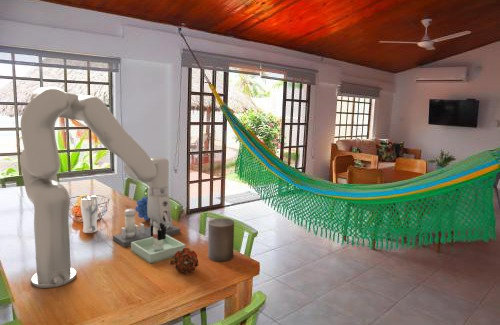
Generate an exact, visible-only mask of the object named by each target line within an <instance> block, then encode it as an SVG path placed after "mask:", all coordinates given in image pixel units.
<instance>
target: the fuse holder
mask: <svg viewBox="0 0 500 325" xmlns="http://www.w3.org/2000/svg"><path fill="white" fill-rule="evenodd" d="M169 223H170V224H169V229H166V235H168V236H170V237H172V236H175V235H178V233H179V234H181V228H180V227H178V226H176V225H173V218H172V217H171V220H170V221H169ZM174 234H175V235H174ZM150 237H153V236H151V226H148V227H145V224H144V223H141V222H140V223H139V225H137V224H135V237H133V238H126V229H125V226H123V227H121V233H117V234H113V235H112V241H114V242H115V243H116V244H118V245H120V246H121V247H122V248H127V247H131V242H134V241H138V240H142V239H146V238H150Z"/></svg>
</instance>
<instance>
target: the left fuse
mask: <svg viewBox="0 0 500 325" xmlns="http://www.w3.org/2000/svg"><path fill="white" fill-rule="evenodd" d="M135 225H136V210H135V209H134V208H126V209H125V210H124V228H125V229H126V238H133V237H135Z"/></svg>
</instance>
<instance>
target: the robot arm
mask: <svg viewBox="0 0 500 325" xmlns="http://www.w3.org/2000/svg"><path fill="white" fill-rule="evenodd" d="M59 118H63V119H69V120H74V121H82V122H84V124H85V125H86V126H87V127H88V128H89V129H90V131H91V132H92V133H93V134H94V136H95V137H96V138H97V140H98V141H99V142H100V143H101V145H102V146H103V147H105V149H107V150H108V151H109V152H110V153H112V154H114V155H115V156H117V157H118V158H119V159H120V160H121V161H122V162H124V165H123V171H124V173H125V174H126V176H127V177H129V178H130V179H133V180H135V181H137V182H140V183H144V184H145V183H146V184H147V198H148V202H147V215H148V217H149V220H148V221H149V227H151V236H153V220H155V221H157V222H158V228H159V230H158V240H162V239H165V238H166V229H167V226H168V225H169V224H170V223H169V221H170V220H171V218H172V209H171V200H170V199H171V198H170V196H169V190H170V188H169V185H170V183H169V181H170V180H169V176H170V175H169V174H170V173H169V172H170V171H169V170H170V169H169V168H170V166H169V165H170V163H169V159H167V158H166V157H161V156H160V157H150V156H149V155H148V153H147V152H146V151H145V150H144V148H142V146H141V145H140V144H139V143H138V142H137V141H136V140H135V139H134V138H133V137H132V136H131V135H130V134H129V133H128V132H127V131H126V130H125V129H124V127H123V126H122V125H121V124H120V122H119V121H118V120H117V119H116V117H115V116H114V114H113V113H112V111H111V110H110V109H109V107H108V106H107V105H106V104H105V103H104V101H103V100H102V99H100V98H99V97H97V96H94V95H83V94H76V93H71V92H66V91H64V90H63V89H62V88H59V87H55V86H54V87H53V86H48V87H45V86H44V87H39V88H37V89H36V90H34V91H33V92H32V94H31V95H30V101H29V102H28V103H27V105H26V106H25V108H24V110H23V112H22V114H21V118H20V131H21V133H20V134H21V139H22V144H23V149H22V152H21V153H20V156H19V164H20V170H21V174H22V179H23V184H24V188H25V193H26V196H27V198H28V200H29V201H30V202H31V203H32V204H33V207H34V212H33V232H34V246H35V249H34V250H35V268H36V273H35V274H34V275H33V276H32V277H31V278H30V279H31V284H32V286H34V287H36V288H39V289H40V288H41V289H51V288H57V287H62V286H64V285H67V284H68V283H71V282H72V281H73V280H75V279H76V277H77V271H76V269H75V268H72V267H71V247H70V246H71V240H70V205H71V197H70V194H69V191H68V189H67V188H66V187H65V186H64V185H63V184H62V183H60V182H59V181H58V176H57V174H58V173H59V172H60V169H61V158H60V154H59V149H58V145H57V138H56V130H55V129H56V128H55V125H56V122H57V120H58V119H59ZM162 220H163V221H162ZM161 223H163V224H162V225H161Z"/></svg>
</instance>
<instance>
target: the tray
mask: <svg viewBox="0 0 500 325" xmlns="http://www.w3.org/2000/svg"><path fill="white" fill-rule="evenodd" d="M163 243H164V249H163V250H159V251H156V250H153V237H150V238H146V239H142V240H138V241H134V242H131V246H130V251H131V252H132V253H133V254H135V255H137V256H138V257H139V258H141V259H142V260H144V261H146V262H147V263H149V264H150V265H152V264H155V263H158V262H161V261H162V262H163V261H165V260H168V259H173V258H172V257H174V254H175V253H176V252H177V251H182V250H183V248H186V244H185V243H183V242H181V241H179V240H178V239H176V238H174V237H172V236H168V235H166V238H165V239H163ZM174 258H175V257H174Z"/></svg>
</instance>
